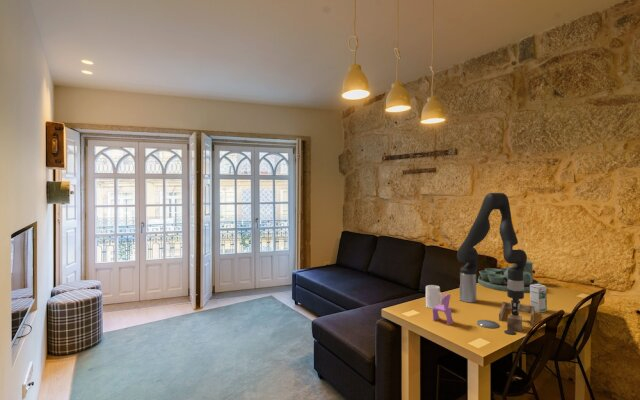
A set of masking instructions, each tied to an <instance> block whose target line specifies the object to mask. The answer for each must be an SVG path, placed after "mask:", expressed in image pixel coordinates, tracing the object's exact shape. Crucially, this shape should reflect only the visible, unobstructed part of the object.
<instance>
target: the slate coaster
mask: <svg viewBox="0 0 640 400" xmlns="http://www.w3.org/2000/svg"><path fill="white" fill-rule="evenodd" d="M476 325H478V326H479V327H482V328H487V329H498V328H499V323H498V322H496V321H493V320H490V319H479V320H477V321H476Z"/></svg>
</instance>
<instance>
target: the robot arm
mask: <svg viewBox="0 0 640 400" xmlns="http://www.w3.org/2000/svg"><path fill="white" fill-rule="evenodd" d="M509 201H510V200H509V198H508V195H507V194H505V193H504V192H490V193H487V194H486V195H485V196H484V198H483V200H482V204H481V206H480V209H479V211H478V213H477V216H476V218H475V219H474V222H473V223H472V225H471V227H470V229H469V232H468V234H467V235H466V237H465V239H464V241H463V242H462V243H461V244H460V246H459V248H458V250H457V253H456V259H457V260H458V261H459V262H460V263H466V264H464V266H461V267H460V269H459V271H460V272H459V279H460V280H459V282H460V284H459V301H462V302H463V303H464V302H465V303H476V302H477V301H478V300H477V298H478V297H477V271H478V264H479V263H478V262H479V261H478V260H479V258H478V257H479V254H478V251H477V249H476V248H475V246H476V245H478V244H479V243H481V242H482V241H484V239H485V238H486V237H487V235H488V234H489V232H490V229H491V222H490V215H491V213H492V212H493V210H494V211H495V210H499V213H500V215H501V221H500V224H499V236H500V238H501V241H502V249H503V251H502V255H503V259H504V261H505V262H506V263H507V264H512V266H513V267H511V266H510V267H511V268H510V267H509V269H508V281H507V291H506V292H507V294H506V295H507V297H508V298H510V299H511V301H510V303H511V310H510V311H511V315H516V316H520V311H519V308H520V304H521V301H520V300H523V299H524V298H525V292H524V282H523V271H524V268H525V265H526V261H528V260H527V259H528V256H527V253H526V251H524V250H523V249H518V248H517V249H513V247H514V246H517V244H518V243H519V241H518V238H517V234H516V230H515V228H514V226H513V225H514V223H513V220H512V212H511V208H510V202H509Z"/></svg>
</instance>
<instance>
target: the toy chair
mask: <svg viewBox="0 0 640 400" xmlns="http://www.w3.org/2000/svg"><path fill="white" fill-rule="evenodd" d="M443 296H444V297H443V298H442V301H441V300H440V302H441V303H442V304H443V305H438V306H436V307H433V309H432V321H433V322H435V321H437V320H439V319H440V316H439V315H440V314H439V311H441V312H442V313H444V315H445V317H446V326H448V324H449V325H451V324H453V323H454V319H453V315H452V309H451V307H450V306H449V304H450V300H451V294H449V293H447V294H445V295H443ZM438 318H439V319H438ZM436 319H437V320H436ZM434 320H435V321H434ZM452 322H453V323H452ZM450 323H451V324H450Z"/></svg>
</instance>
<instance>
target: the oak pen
mask: <svg viewBox="0 0 640 400" xmlns="http://www.w3.org/2000/svg"><path fill="white" fill-rule="evenodd" d="M506 310H510V311H512V310H511V302H508V301H507V302H505V301H503V302H502V304H501V308H500V310H499V313H498V321H499V322H502V321H503V317H504V315H505V312H506ZM519 312H525V313H530V327H534V322H535V314H536V313H535V312H536V311H534V306H530V305H528V304H521V303H520V308H519Z"/></svg>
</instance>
